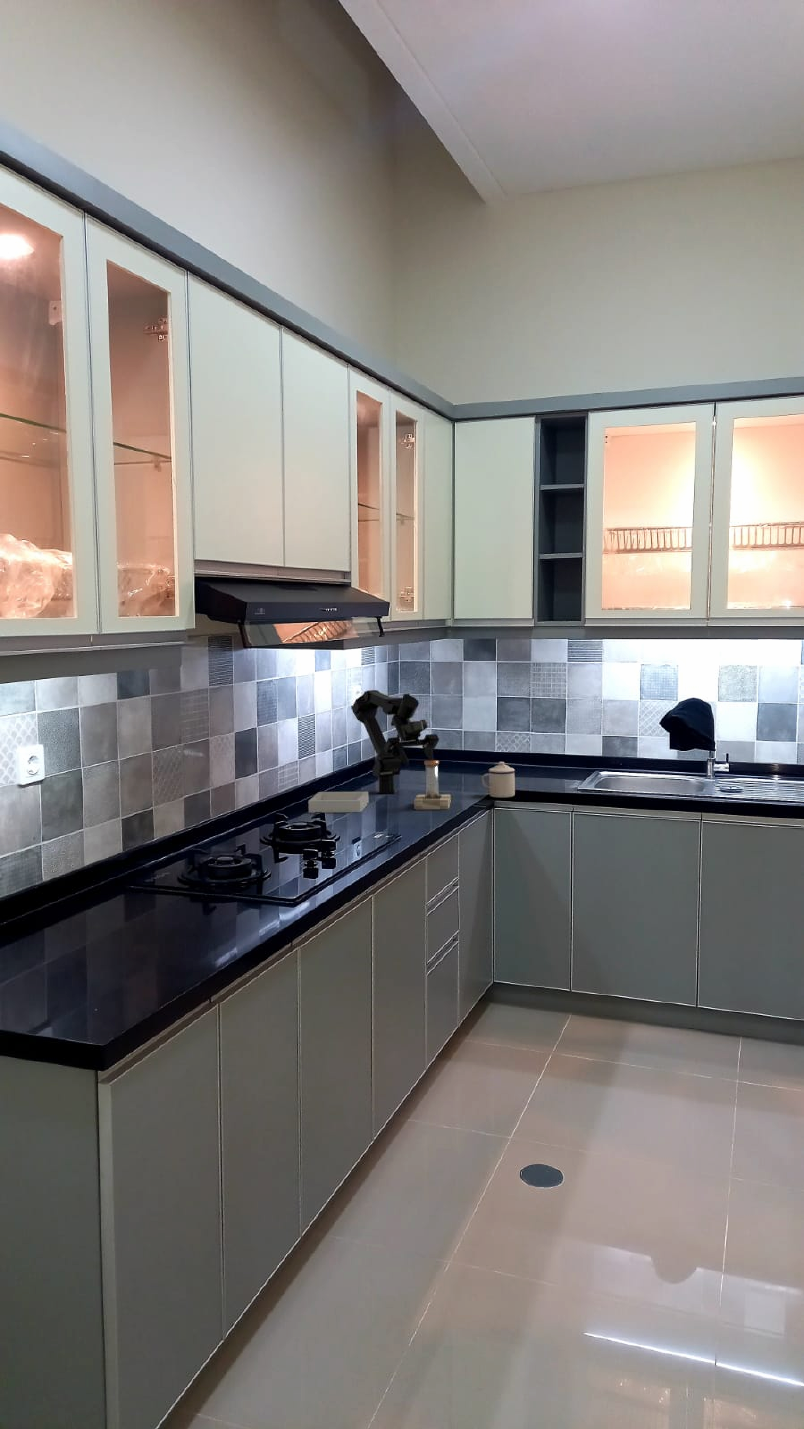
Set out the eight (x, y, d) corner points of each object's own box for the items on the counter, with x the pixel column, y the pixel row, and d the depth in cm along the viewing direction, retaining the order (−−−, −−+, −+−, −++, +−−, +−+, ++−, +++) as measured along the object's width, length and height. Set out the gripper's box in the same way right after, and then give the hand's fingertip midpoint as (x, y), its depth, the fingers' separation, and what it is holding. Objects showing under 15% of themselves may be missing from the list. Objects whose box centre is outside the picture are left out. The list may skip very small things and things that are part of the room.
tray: (319, 803, 346) (318, 792, 345) (368, 802, 344) (368, 791, 343) (308, 812, 329) (308, 801, 329) (360, 812, 327) (360, 800, 327)
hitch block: (417, 803, 340) (417, 794, 339) (450, 803, 338) (450, 794, 338) (414, 809, 329) (414, 800, 329) (448, 809, 328) (448, 800, 327)
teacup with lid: (519, 794, 352) (519, 760, 351) (509, 798, 344) (508, 764, 343) (488, 792, 358) (487, 759, 357) (477, 796, 350) (476, 762, 349)
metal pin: (426, 805, 336) (424, 760, 335) (440, 804, 336) (439, 760, 334) (424, 807, 332) (423, 762, 330) (439, 807, 331) (438, 762, 330)
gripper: (386, 714, 338) (402, 750, 329) (435, 710, 346) (452, 745, 338) (377, 735, 346) (392, 771, 337) (425, 731, 354) (441, 766, 345)
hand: (420, 763), depth 339 cm, fingers open, 9 cm apart
